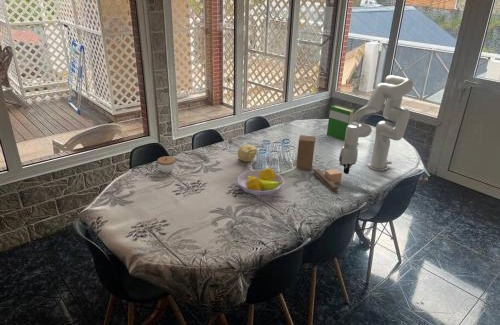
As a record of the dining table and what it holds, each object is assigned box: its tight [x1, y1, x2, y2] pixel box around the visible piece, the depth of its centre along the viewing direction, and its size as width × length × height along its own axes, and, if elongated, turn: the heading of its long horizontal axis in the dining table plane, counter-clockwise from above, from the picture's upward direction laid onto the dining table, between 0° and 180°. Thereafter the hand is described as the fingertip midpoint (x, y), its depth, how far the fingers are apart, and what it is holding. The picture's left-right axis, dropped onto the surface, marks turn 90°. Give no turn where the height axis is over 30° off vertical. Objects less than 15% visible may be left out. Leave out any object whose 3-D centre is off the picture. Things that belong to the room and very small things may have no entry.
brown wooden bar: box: [313, 168, 339, 193], centre depth 220 cm, size 3×24×3 cm, turn 18°
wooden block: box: [295, 134, 316, 171], centre depth 235 cm, size 10×10×20 cm
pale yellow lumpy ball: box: [237, 144, 258, 163], centre depth 243 cm, size 11×12×11 cm
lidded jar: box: [156, 155, 176, 174], centre depth 223 cm, size 11×11×9 cm
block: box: [324, 168, 343, 184], centre depth 222 cm, size 8×6×6 cm
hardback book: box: [326, 104, 356, 142], centre depth 287 cm, size 18×7×24 cm, turn 43°
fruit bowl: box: [237, 167, 285, 196], centre depth 206 cm, size 28×27×11 cm
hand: (346, 173), depth 224 cm, fingers closed
